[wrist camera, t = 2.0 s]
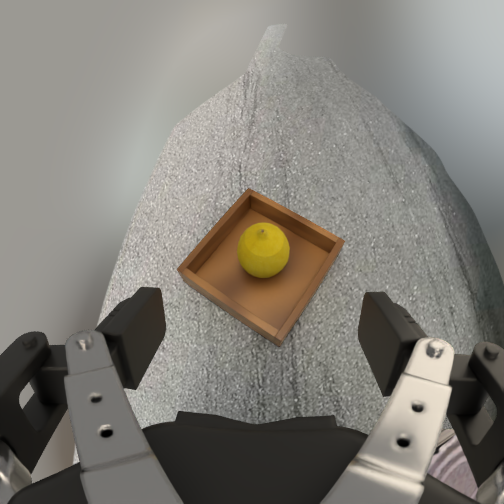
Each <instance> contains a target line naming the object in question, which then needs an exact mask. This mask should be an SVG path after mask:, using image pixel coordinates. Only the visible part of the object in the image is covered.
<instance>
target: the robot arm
mask: <svg viewBox="0 0 504 504" xmlns="http://www.w3.org/2000/svg"><path fill="white" fill-rule="evenodd" d="M165 332H166V321H165V314H164V307H163V300H162V293H161V290H160V288H153V287H140V288H139V290H138V291H137V292H136V293H135V294H134V295H133V296H132V297H131V298H128V299H126V300H124V301H122V302H120V303H119V304H118V305H117V306H116V307H115V308H114V309H113V311H111V312H110V313H109V315H108V316H107V317H106V318H105V319H104V320H103V321H102V322H101V323H100V324H99V325H98V327H97V328H96V329H95V330H84V331H80V332H77V333H75V334H73V335H71V336H70V337H69V338H68V339H67V340H66V343H65V345H49V343H48V340H47V337H46V335H45V334H44V333H42V332H29V333H26V334H23V335H21V336H20V337H18V338H17V339H16V340H15V341H14V342H13V343H12V344H11V345H10V346H9V347H8V348H7V349H6V350H5V351H4V352H3V353H2V354H1V355H0V504H504V350H503V349H502V348H501V347H499V346H498V345H496V344H493V343H490V342H480V343H478V344H476V345H475V347H474V350H473V352H472V355H461V354H454V349H453V348H452V346H451V345H450V344H449V343H447V342H445V341H444V340H441V339H438V338H433V337H428V336H427V335H426V334H425V333H424V331H423V330H422V329H421V328H420V326H419V325H418V324H417V323H415V320H414V319H413V318H412V317H411V315H410V314H409V313H408V312H407V310H406V309H405V308H403V307H401V306H400V305H398V304H396V303H393V302H392V300H391V299H390V298H389V297H388V295H387V294H386V293H385V292H366V293H365V295H364V298H363V304H362V310H361V315H360V321H359V326H358V339H359V343H360V345H361V347H362V349H363V351H364V354H365V356H366V358H367V360H368V363H369V365H370V367H371V369H372V372H373V374H374V376H375V379H376V381H377V383H378V386H379V388H380V390H381V393H382V395H383V397H386V396H390V398H389V400H388V402H387V404H386V406H385V408H384V410H383V412H382V413H381V415H380V417H379V419H378V421H377V422H376V424H375V426H374V428H373V429H372V431H371V433H370V434H369V435H367V434H365V433H362V432H360V431H357V430H354V429H350V428H346V427H340V426H337V424H336V420H335V415H331V416H315V417H295V418H290V419H285V420H280V421H275V422H270V423H264V424H250V423H246V422H241V421H237V420H233V419H229V418H226V417H222V416H218V415H212V414H202V413H192V412H184V411H178V414H177V417H176V420H175V421H172V422H164V423H159V424H155V425H151V426H148V427H145V428H143V429H141V427H140V425H139V423H138V421H137V419H136V417H135V414H134V412H133V410H132V408H131V405H130V403H129V401H128V398H127V396H126V393H125V391H124V388H127V389H133V390H136V389H137V387H138V385H139V383H140V382H141V380H142V378H143V376H144V374H145V372H146V370H147V368H148V366H149V364H150V363H151V361H152V359H153V357H154V355H155V353H156V351H157V349H158V348H159V346H160V344H161V342H162V340H163V338H164V336H165ZM28 382H30V385H31V387H32V388H33V390H34V392H35V393H34V394H33V396H32V397H31V398H30V400H29V401H28V402H27V404H26V405H25V407H24V408H23V409H22V408H21V406H20V404H19V395H20V392H21V391H22V390H23V389H24V387H25V386H26V385H27V383H28ZM489 396H490V397H491V399H492V400H493V402H494V403H495V405H496V407H497V417H496V420H495V421H494V423H493V421H492V419H491V418H490V416H489V414H488V412H487V411H486V409H485V407H484V406H483V405H484V404H485V402H486V400H487V398H488V397H489ZM67 409H68V410H69V415H70V421H71V425H72V431H73V435H74V440H75V444H76V448H77V452H78V456H79V460H80V462H79V463H77V464H75V465H73V466H71V467H68V468H66V469H64V470H62V471H60V472H58V473H56V474H53V475H51V476H49V477H47V478H44V479H42V480H40V481H37V482H35V483H33V484H32V478H31V474H32V472H33V470H34V468H35V466H36V464H37V462H38V460H39V458H40V457H41V455H42V453H43V451H44V449H45V447H46V445H47V443H48V442H49V440H50V438H51V436H52V435H53V433H54V431H55V429H56V428H57V426H58V424H59V422H60V421H61V419H62V417H63V416H64V414H65V412H66V410H67ZM446 415H447V417H448V419H449V421H450V423H451V425H452V428H453V430H454V432H455V434H456V436H457V439H458V441H459V443H460V445H461V448H462V450H463V452H464V455H465V457H466V459H467V462H468V464H469V467H470V469H471V472H472V474H473V477H474V479H475V482H476V484H477V487H478V490H477V493H476V500H474V499H472V498H470V497H468V496H467V495H465V494H463V493H461V492H459V491H457V490H456V489H454V488H452V487H450V486H449V485H447V484H445V483H443V482H442V481H440V480H438V479H437V478H435V477H433V476H432V475H430V474H428V473H427V472H428V469H429V466H430V464H431V461H432V458H433V455H434V452H435V449H436V446H437V443H438V440H439V437H440V434H441V430H442V427H443V423H444V419H445V416H446Z"/></svg>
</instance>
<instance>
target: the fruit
mask: <svg viewBox="0 0 504 504" xmlns="http://www.w3.org/2000/svg"><path fill="white" fill-rule="evenodd" d="M289 251H290V247H289V243H288V240H287V238H286V236H285V235H284V233H283V232H282V231H281V230H280V229H279V228H278V227H277V226H275V225H273V224H270V223H257V224H254V225H252V226H250V227H249V228H247V229H246V230H245V232H244V233H243V234H242V235H241V237H240V240H239V242H238V247H237V256H238V260H239V262H240V264H241V266H242V267H243V269H244V270H245V271H246V272H247V273H249V274H251V275H252V276H254V277H259V278H269V277H272V276H274V275H276V274H277V273H279V272H280V271H281V270H282V269H283V268H284V266H285V265H286V263H287V262H288V258H289Z"/></svg>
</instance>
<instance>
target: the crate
mask: <svg viewBox="0 0 504 504" xmlns="http://www.w3.org/2000/svg"><path fill="white" fill-rule="evenodd" d="M257 223H270V224H273V225H275V226H277V227H278V228H279V229H280V230H281V231H282V232H283V233H284V235H285V236H286V238H287V240H288V243H289V247H290V251H289V258H288V262H287V263H286V265H285V266H284V268H283V269H282V270H281V271H280V272H279V273H277V274H276V275H274V276H272V277H269V278H259V277H254V276H252V275H251V274H249V273H247V272H246V271H245V270H244V269H243V267H242V266H241V264H240V262H239V260H238V256H237V247H238V242H239V240H240V237H241V235H242V234H243V233H244V232H245V230H246V229H247V228H249V227H250V226H252V225H254V224H257ZM344 243H345V241H344V240H343V239H341V238H339V237H337V236H335V235H334V234H332V233H330V232H328V231H327V230H325V229H323V228H321V227H320V226H318V225H316V224H314V223H313V222H311V221H309V220H307V219H305V218H304V217H302V216H300V215H298V214H296V213H294V212H293V211H291V210H289V209H287V208H285V207H283V206H282V205H280V204H278V203H276V202H274V201H272V200H270V199H269V198H267V197H265V196H263V195H261V194H259V193H257V192H255V191H253V190H251V189H249V188H248V189H247V190H246V191H245V192H244V193H243V194H242V196H241V197H240V198H239V199H238V200H237V201H236V202H235V203H234V204H233V206H232V207H231V208H230V209H229V210H228V211H227V212H226V213H225V214H224V216H223V217H222V218H221V219H220V220H219V221H218V222H217V223H216V225H215V226H214V227H213V228H212V229H211V230H210V231H209V232H208V234H207V235H206V236H205V237H204V238H203V239H202V240H201V242H200V243H199V244H198V245H197V246H196V247H195V249H194V250H193V251H192V252H191V253H190V254H189V255H188V257H187V258H186V259H185V260H184V261H183V263H182V264H181V265H180V266H179V267H178V268H177V271H178V272H179V274H180V276H181V277H182V279H183V281H184V282H185V283H187V284H188V285H189V286H191V287H192V288H194V289H195V290H196V291H198V292H199V293H201V294H202V295H203V296H205V297H206V298H208V299H209V300H210V301H212V302H213V303H215V304H216V305H217V306H219V307H220V308H222V309H223V310H225V311H226V312H228V313H229V314H230V315H232V316H233V317H235V318H236V319H238V320H239V321H241V322H242V323H244V324H245V325H247V326H248V327H250V328H251V329H253V330H254V331H256V332H257V333H259V334H260V335H262V336H263V337H265V338H266V339H268V340H269V341H271V342H272V343H274V344H275V345H277V346H279V347H280V345H281V344H282V342H283V341H284V339H285V338H286V337H287V335H288V334H289V332H290V331H291V329H292V328H293V326H294V325H295V323H296V322H297V320H298V319H299V317H300V316H301V314H302V313H303V311H304V309H305V308H306V306H307V305H308V303H309V302H310V300H311V299H312V297H313V295H314V294H315V292H316V291H317V289H318V288H319V286H320V284H321V283H322V281H323V280H324V278H325V276H326V275H327V273H328V271H329V270H330V268H331V267H332V265H333V263H334V262H335V260H336V258H337V257H338V255H339V253H340V251H341V249H342V247H343V245H344Z"/></svg>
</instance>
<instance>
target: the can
mask: <svg viewBox="0 0 504 504" xmlns="http://www.w3.org/2000/svg"><path fill="white" fill-rule="evenodd" d="M427 473H428V474H430V475H432V476H433V477H435V478H437V479H438V480H440V481H442V482H443V483H445V484H447V485H449V486H450V487H452V488H454V489H456V490H457V491H459V492H461V493H463V494H465V495H467V496H468V497H470V498H472V499H474V500H476V493H477V490H478V487H477V484H476V482H475V479H474V477H473V474H472V472H471V469H470V467H469V464H468V462H467V459H466V457H465V455H464V452H463V450H462V448H461V445H460V443H459V441H458V439H457V436H456V434H455V432H454V430H453V429H442V430H441V434H440V437H439V440H438V443H437V446H436V449H435V452H434V455H433V458H432V461H431V464H430V466H429V469H428V472H427Z"/></svg>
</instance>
